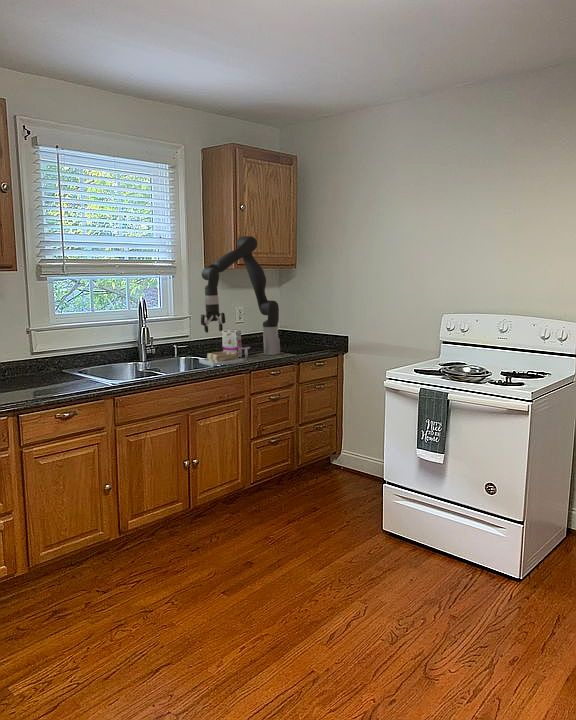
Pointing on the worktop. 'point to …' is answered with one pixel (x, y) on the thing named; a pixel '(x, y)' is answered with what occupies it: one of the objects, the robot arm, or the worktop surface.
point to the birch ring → (222, 356)
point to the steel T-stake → (246, 352)
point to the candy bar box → (232, 341)
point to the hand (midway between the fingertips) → (213, 331)
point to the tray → (208, 363)
